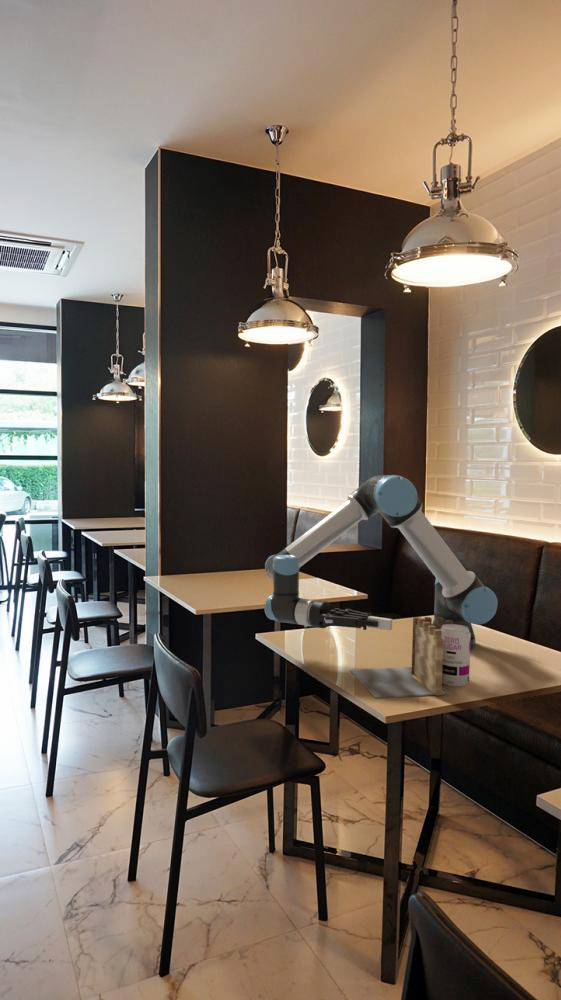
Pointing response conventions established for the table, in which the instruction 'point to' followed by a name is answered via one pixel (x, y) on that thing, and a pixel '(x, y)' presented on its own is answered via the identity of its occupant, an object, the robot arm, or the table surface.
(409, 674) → the fence base
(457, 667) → the supplement can
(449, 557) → the robot arm
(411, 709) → the table surface
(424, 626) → the fence panel
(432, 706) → the table surface
